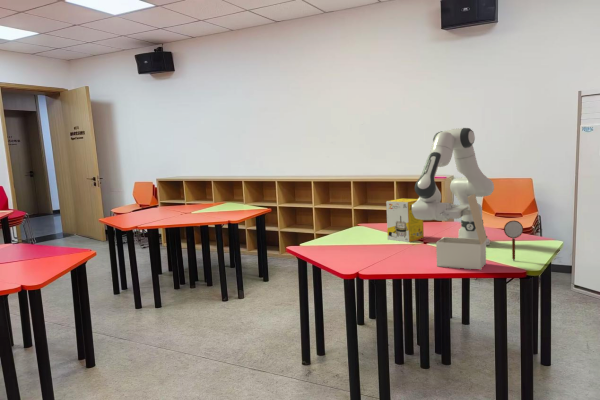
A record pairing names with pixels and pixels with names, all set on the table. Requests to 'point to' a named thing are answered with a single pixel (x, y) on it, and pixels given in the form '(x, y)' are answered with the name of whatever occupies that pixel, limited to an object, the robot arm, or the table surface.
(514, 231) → the magnifying glass
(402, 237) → the packaging box
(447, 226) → the table surface
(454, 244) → the carton
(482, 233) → the lid flap
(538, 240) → the table surface
